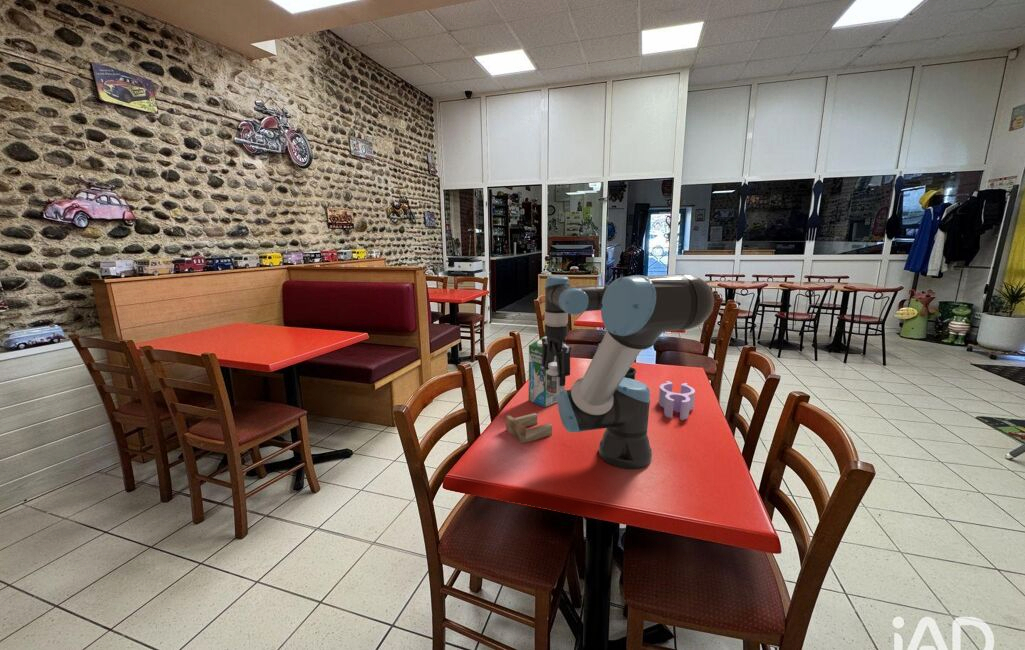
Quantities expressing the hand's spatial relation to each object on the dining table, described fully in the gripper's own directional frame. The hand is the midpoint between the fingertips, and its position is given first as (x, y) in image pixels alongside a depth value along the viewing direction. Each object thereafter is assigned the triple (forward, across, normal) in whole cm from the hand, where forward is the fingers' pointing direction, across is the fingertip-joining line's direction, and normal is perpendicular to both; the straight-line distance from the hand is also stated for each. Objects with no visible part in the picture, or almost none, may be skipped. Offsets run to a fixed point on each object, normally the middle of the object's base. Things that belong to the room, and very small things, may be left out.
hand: (554, 390), depth 136 cm
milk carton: (+13, +19, -8) cm, 24 cm away
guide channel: (+13, 0, +10) cm, 16 cm away
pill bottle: (+1, 0, 0) cm, 1 cm away
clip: (+13, -11, -48) cm, 51 cm away
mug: (+13, +8, -36) cm, 39 cm away
